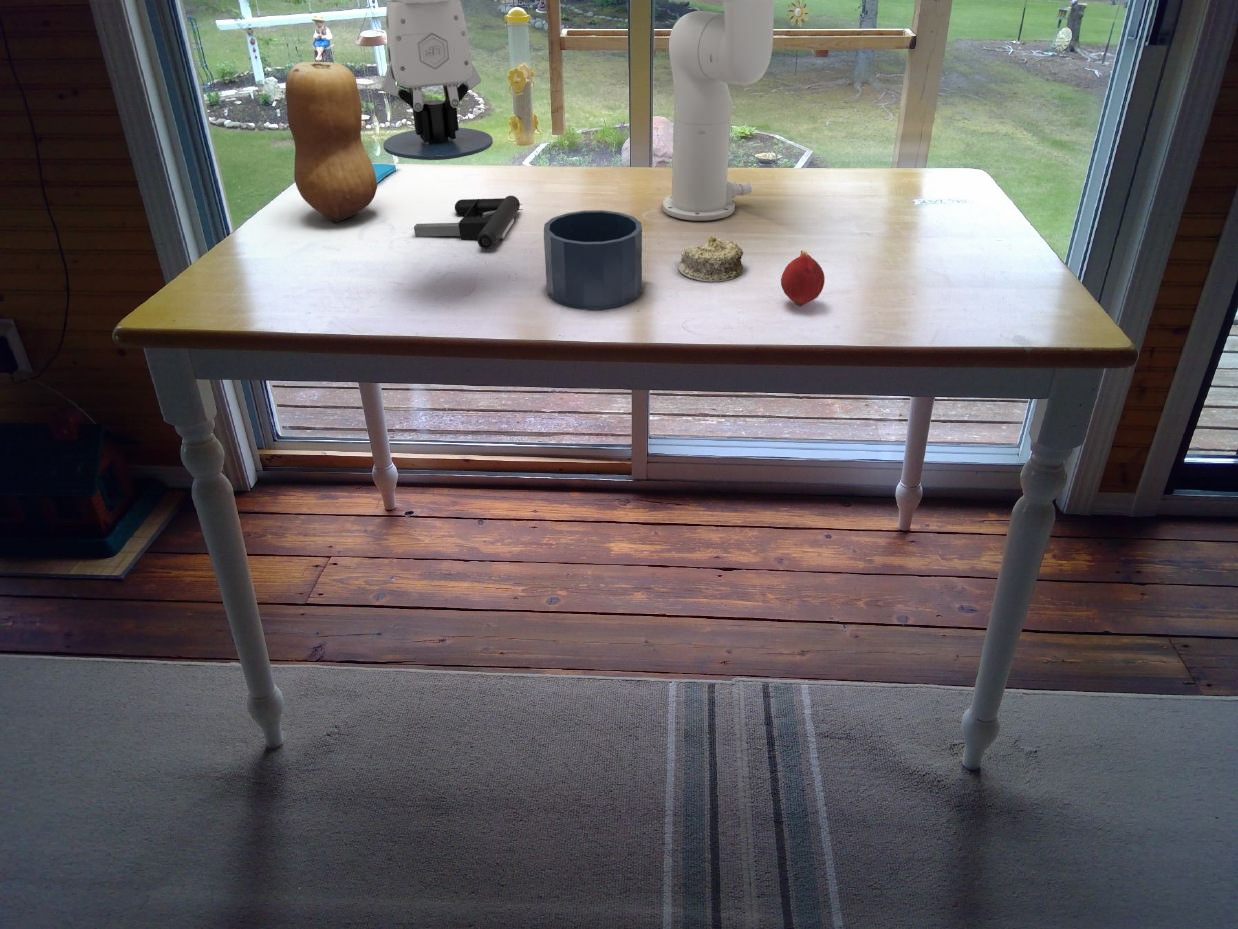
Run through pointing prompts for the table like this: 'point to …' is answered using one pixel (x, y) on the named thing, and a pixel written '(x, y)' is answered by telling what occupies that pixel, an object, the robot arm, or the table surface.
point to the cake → (712, 261)
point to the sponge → (383, 170)
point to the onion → (802, 279)
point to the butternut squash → (329, 139)
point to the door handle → (476, 221)
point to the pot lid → (437, 139)
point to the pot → (593, 259)
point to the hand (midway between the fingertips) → (437, 136)
